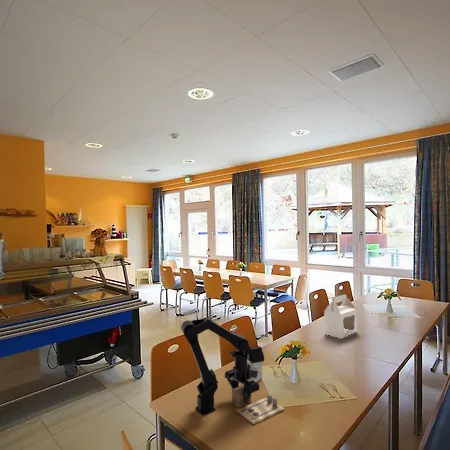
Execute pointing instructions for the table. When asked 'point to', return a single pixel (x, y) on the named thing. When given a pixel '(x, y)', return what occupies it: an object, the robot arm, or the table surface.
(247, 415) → the guide board
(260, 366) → the small box
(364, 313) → the table surface
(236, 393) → the upright wooden block
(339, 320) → the gable box
